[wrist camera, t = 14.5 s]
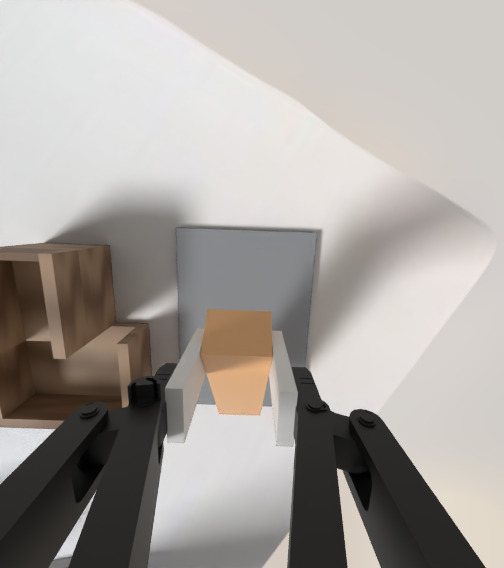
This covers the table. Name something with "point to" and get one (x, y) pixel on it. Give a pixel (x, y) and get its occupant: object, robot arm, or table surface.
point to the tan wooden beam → (237, 358)
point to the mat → (246, 284)
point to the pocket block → (63, 335)
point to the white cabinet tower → (60, 563)
